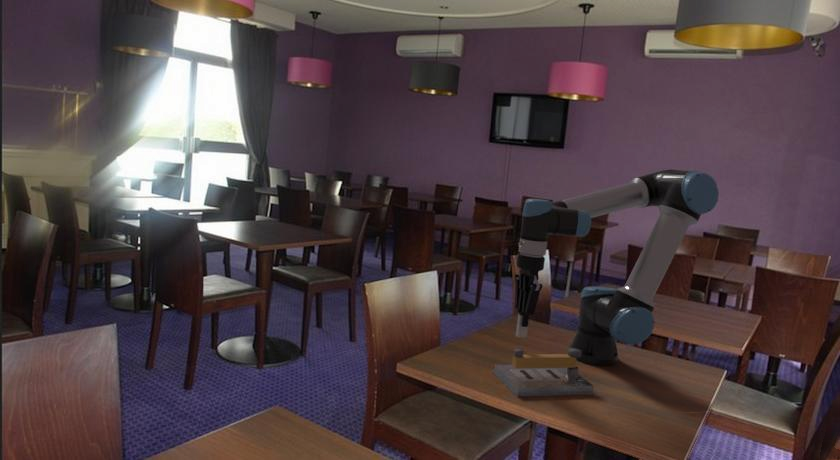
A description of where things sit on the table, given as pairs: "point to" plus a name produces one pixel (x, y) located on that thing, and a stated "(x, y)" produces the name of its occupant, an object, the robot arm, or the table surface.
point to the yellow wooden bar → (546, 359)
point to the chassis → (543, 381)
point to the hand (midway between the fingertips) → (521, 336)
